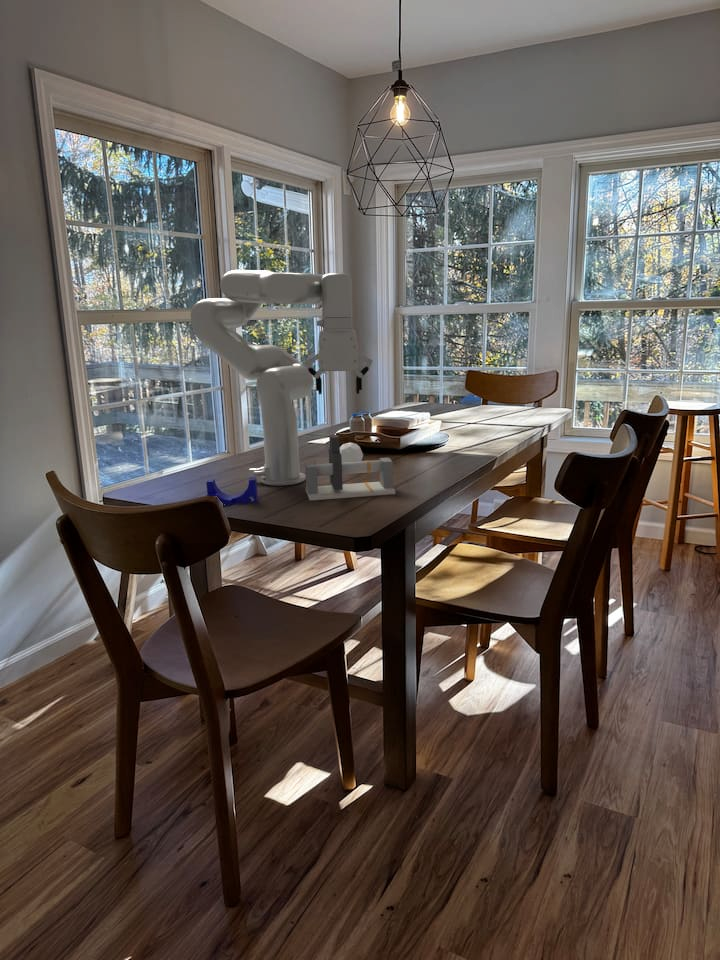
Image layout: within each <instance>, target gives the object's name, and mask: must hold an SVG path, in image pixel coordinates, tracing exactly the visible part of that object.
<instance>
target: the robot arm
mask: <svg viewBox="0 0 720 960" xmlns="http://www.w3.org/2000/svg"><path fill="white" fill-rule="evenodd" d="M352 280H353V279H352V276H351V275H350V274H348V273H340V272H339V273H334V272H333V273H326V274H319V273H310V272H306V273H305V272H275V271H273V270H268V269H267V270H262V269H261V270H260V269H259V270H257V269H254V270H253V269H252V270H251V269H233V270H230V271H227V272H226V273H224V275H222V277H221V279H220V283H219V286H220V287H219V288H220V290H221V293H222V294H223V296H224V298H223V297H221V298H220V297H213V298H212V297H211V298H205V299H204V298H203V299H201V300H199V301H197V302H196V303H194V305H193V306H192V308H191V310H190V323H191V327H192V329H193V333H194V334H195V336H196V337H197V339H198V340H199V342H201V343H202V345H204V347H206V348H207V349H209V350H210V351H211V352H212V353H213V354H215V355H217V356H218V358H220V359H222V361H223V362H225V363H226V364H227V365H228V366H229V367H230V368H232V369H233V370H234V371H235V372H237V374H239V375H240V376H241V377H243V379H244V378H245V379H246V380H248V381H249V380H250V381H256V386H255V387H256V393H257V396H258V400H259V404H260V410H261V420H262V432H263V433H262V434H263V436H262V437H263V448H264V450H263V451H264V464H263V466H260V467H256V468H254V467H253V468H249V469H248V470H249V476H253V477H259V476H261V477H260V482H261V483H262V484H264V485H267V486H276V487H277V486H291V485H296V484H297V485H298V484H300V483H303V482H306V473H305V474H304V473H303V472H301V471H300V470H301V469H300V467H301V466H300V453H299V452H300V451H299V450H300V449H299V432H298V417H297V413H296V411H295V408H294V406H293V403H292V401H296V400H300V399H305V398H306V397H307V396H309V395H310V394H311V393H312V392H313V390H314V379H315V391H316V392H318V395H322V394H323V391H322V390H323V388H322V387H323V386H322V378H321V376H322V374H323V373H324V372H354V374H355V375H356V377H355V392H356V394H357V395H359V394H360V391H362V390H363V377H364V376H365V375H366V373H368V372H369V370H370V368H371V366H372V364H373V359H372V358H370V357H367V356H365V355H364V354H362V353H360V352H359V344H358V336H357V331H356V330H355V329H353V282H352ZM263 304H265V305H272V304H281V305H292V306H294V305H295V306H296V305H303V306H304V305H312V306H313V305H314V306H315V305H321V314H322V316H321V317H322V318H321V319H320V320H316V326H317V327H321V328H322V330H320V331H319V335H318V340H317V341H318V343H317V344H318V345H317V353H316V354H314V355H313V356H311V357H309V358H307V359H305V360H304V362H303V363H304V364H303V363H302V362H301V361H299V360H298V359H296V358H295V357H294V356H293V355H292V354H290V353H289V352H287V351H286V350H285V349H284V348H282V347H280V346H278V345H275V344H253V343H252V342H250V341H248V340H247V339H246V338H245V337H243V336H242V335H240V334H239V333H238V332H236V331H234V330H231V329H238V328H240V327H243V326H245V325H246V324H247V323H248V322H249V320H250V319H252V317H253V316H254V315H255V314H256V312H257V311H258V310H259V309H260V308H261V306H262V305H263ZM359 360H361V361H363V362H364V363H365V365H364V367H363V368H362V369H361V370H360V369H359V364H360V363H359ZM316 361H317V367H318V370H315V369H314V368H313V366H312V365H311V364H312V363H314V362H316Z"/></svg>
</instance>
